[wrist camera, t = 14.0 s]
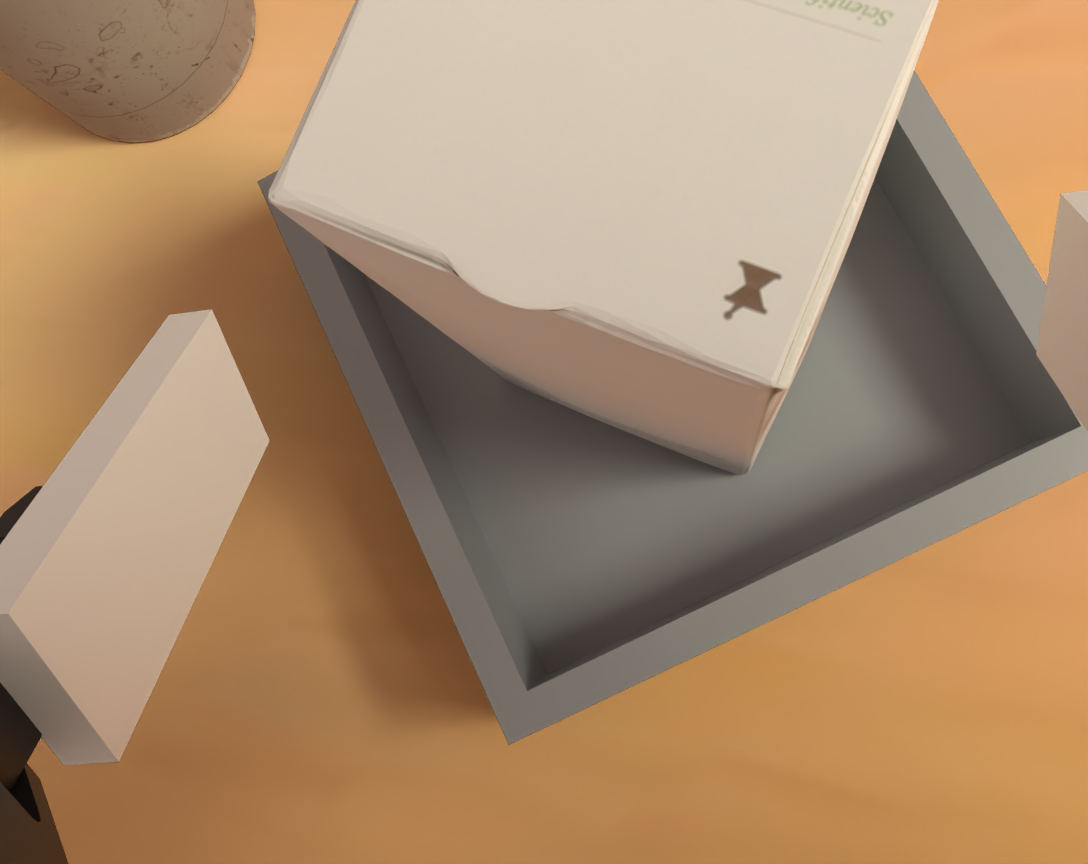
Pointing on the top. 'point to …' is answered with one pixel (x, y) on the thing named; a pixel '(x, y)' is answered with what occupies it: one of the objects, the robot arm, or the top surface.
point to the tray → (702, 489)
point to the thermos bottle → (128, 59)
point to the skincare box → (610, 189)
